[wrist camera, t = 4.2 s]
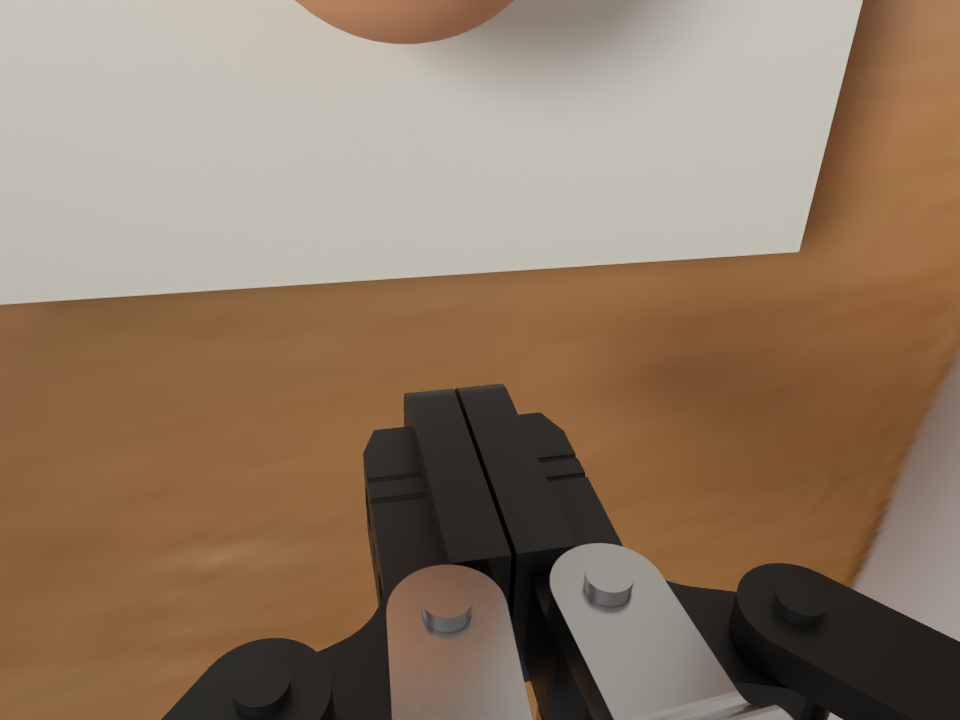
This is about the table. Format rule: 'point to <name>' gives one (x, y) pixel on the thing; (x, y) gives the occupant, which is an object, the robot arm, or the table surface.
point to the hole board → (401, 141)
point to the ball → (405, 17)
